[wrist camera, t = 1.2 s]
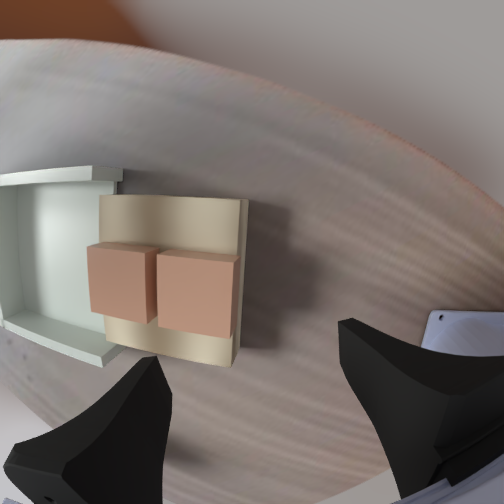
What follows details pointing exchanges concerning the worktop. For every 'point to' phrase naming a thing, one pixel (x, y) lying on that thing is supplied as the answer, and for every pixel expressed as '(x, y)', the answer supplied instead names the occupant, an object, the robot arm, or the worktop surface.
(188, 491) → the worktop surface
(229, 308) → the tile
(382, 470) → the worktop surface
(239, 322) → the beige block
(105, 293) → the tile
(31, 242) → the box
